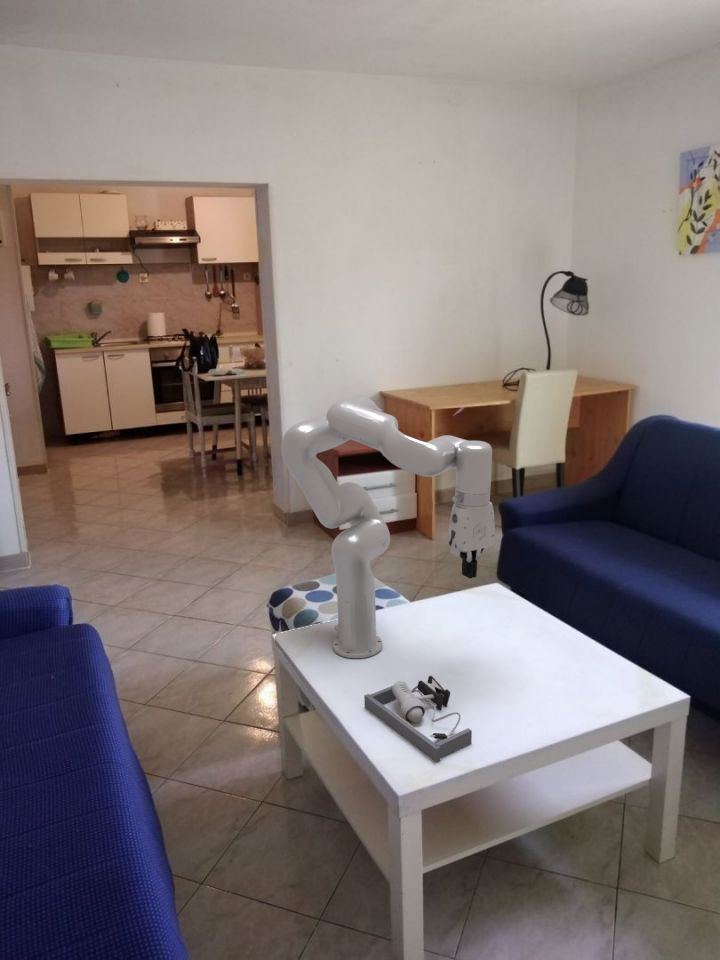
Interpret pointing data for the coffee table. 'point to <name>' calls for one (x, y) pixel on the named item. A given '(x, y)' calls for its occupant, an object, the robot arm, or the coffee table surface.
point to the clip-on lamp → (414, 707)
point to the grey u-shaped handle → (408, 732)
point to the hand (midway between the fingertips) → (469, 575)
